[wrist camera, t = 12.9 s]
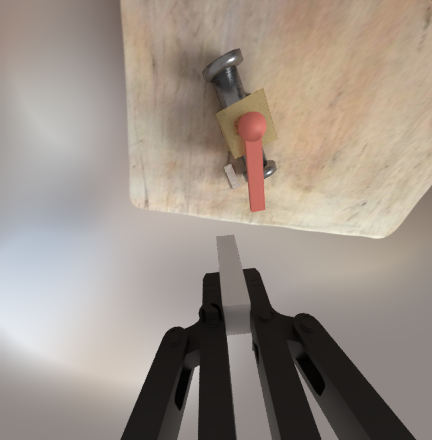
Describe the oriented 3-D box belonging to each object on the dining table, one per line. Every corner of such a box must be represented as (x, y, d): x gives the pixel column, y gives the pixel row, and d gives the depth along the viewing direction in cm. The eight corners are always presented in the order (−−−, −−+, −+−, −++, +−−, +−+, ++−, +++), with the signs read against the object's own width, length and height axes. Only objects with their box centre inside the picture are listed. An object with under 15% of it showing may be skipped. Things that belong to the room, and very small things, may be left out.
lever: (236, 114, 25) (237, 114, 24) (263, 109, 24) (265, 108, 23) (246, 209, 31) (247, 212, 30) (267, 206, 31) (269, 209, 30)
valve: (187, 85, 30) (180, 75, 23) (239, 54, 29) (252, 31, 21) (233, 188, 39) (239, 205, 31) (275, 169, 37) (292, 182, 30)
